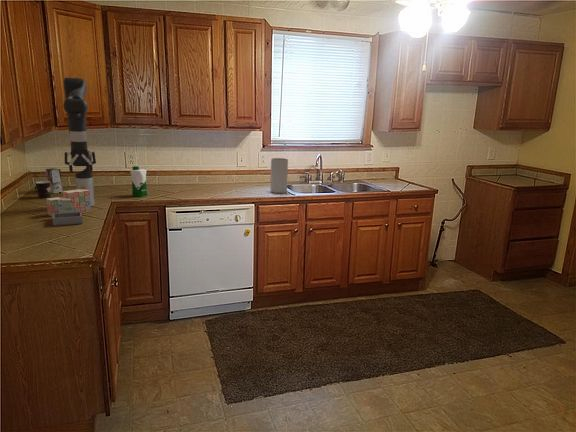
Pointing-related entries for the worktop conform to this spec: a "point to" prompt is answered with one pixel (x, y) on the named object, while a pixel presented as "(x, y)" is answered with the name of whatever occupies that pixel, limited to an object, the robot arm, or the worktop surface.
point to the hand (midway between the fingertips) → (81, 172)
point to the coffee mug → (43, 189)
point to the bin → (67, 218)
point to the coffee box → (54, 179)
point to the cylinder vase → (279, 175)
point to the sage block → (66, 205)
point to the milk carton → (138, 182)
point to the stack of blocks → (78, 200)
